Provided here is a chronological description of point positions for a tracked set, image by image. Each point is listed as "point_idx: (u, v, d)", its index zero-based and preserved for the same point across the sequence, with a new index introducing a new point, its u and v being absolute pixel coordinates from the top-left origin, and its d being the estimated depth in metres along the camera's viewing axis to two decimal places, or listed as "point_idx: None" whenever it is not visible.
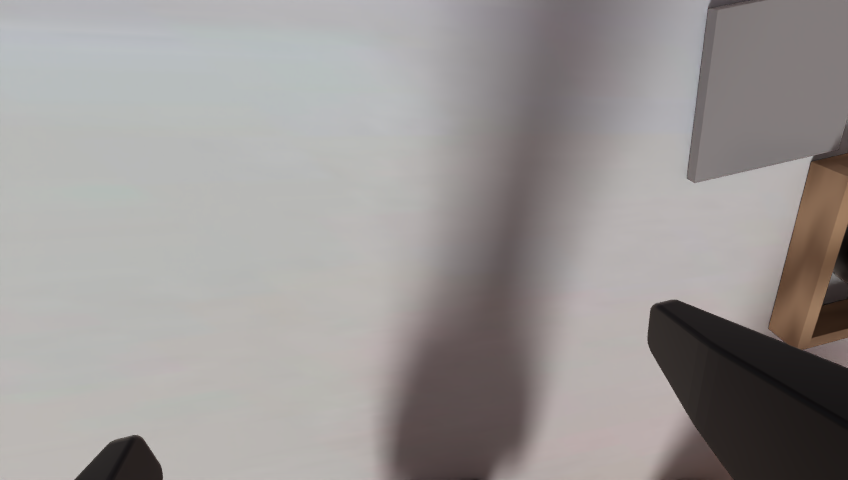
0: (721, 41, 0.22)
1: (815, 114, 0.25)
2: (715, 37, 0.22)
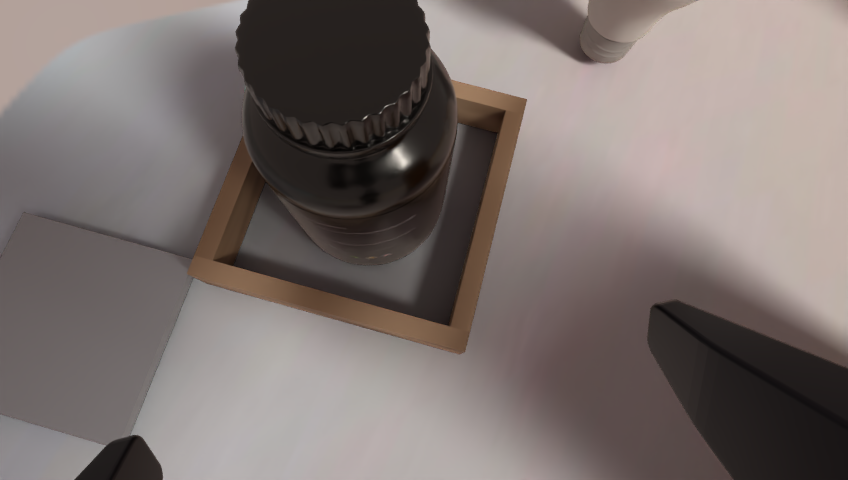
0: None
1: (127, 288, 0.22)
2: None
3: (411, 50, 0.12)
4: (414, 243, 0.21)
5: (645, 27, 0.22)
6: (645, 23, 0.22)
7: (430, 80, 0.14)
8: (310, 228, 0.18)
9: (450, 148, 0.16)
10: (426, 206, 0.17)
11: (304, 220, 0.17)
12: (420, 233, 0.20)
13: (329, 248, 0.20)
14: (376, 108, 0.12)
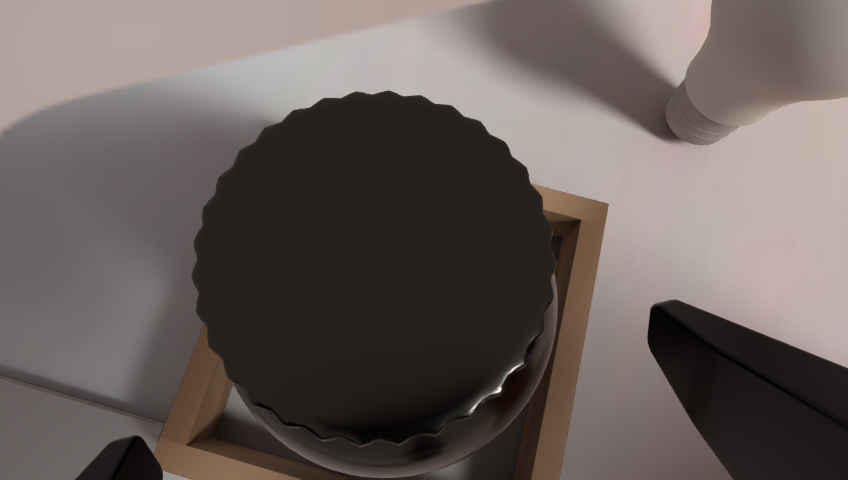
0: None
1: (70, 470, 0.16)
2: None
3: (525, 279, 0.06)
4: None
5: (772, 111, 0.16)
6: (775, 108, 0.16)
7: None
8: None
9: (548, 357, 0.10)
10: None
11: None
12: None
13: None
14: (464, 404, 0.06)
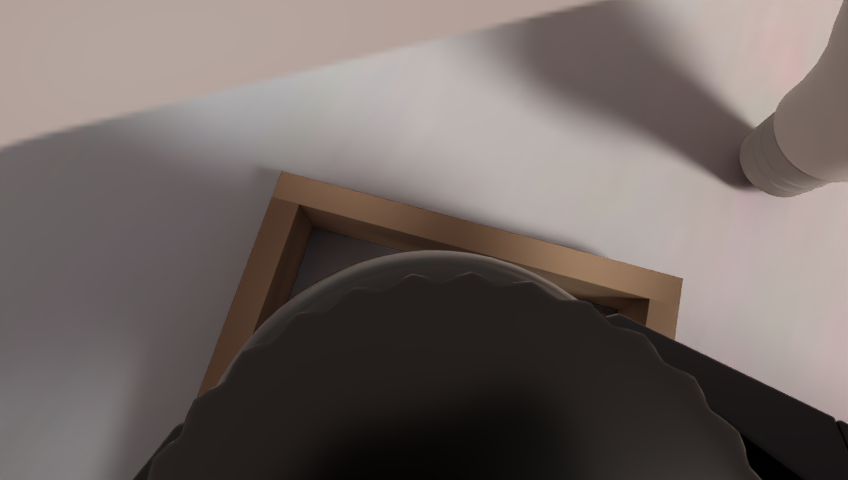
0: None
1: None
2: None
3: None
4: None
5: None
6: None
7: None
8: None
9: None
10: None
11: None
12: None
13: None
14: None
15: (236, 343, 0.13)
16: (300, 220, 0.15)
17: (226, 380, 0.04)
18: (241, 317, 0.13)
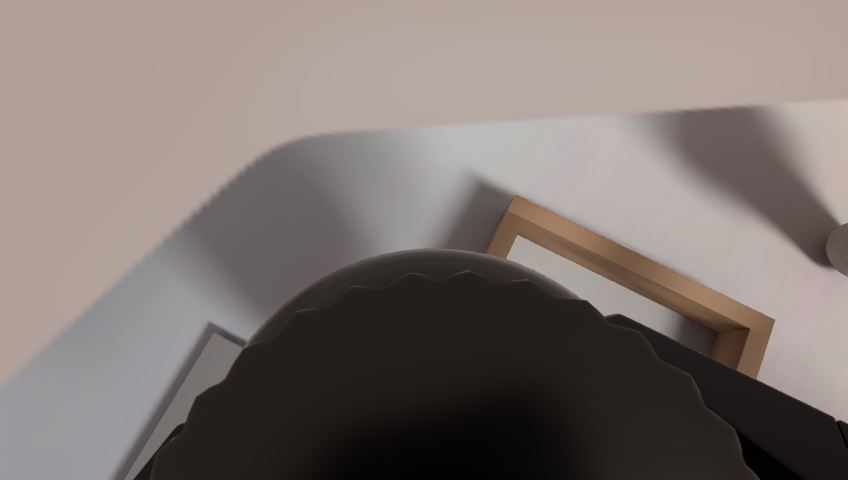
0: None
1: None
2: None
3: None
4: None
5: None
6: None
7: None
8: None
9: None
10: None
11: None
12: None
13: None
14: None
15: None
16: None
17: (227, 377, 0.04)
18: None
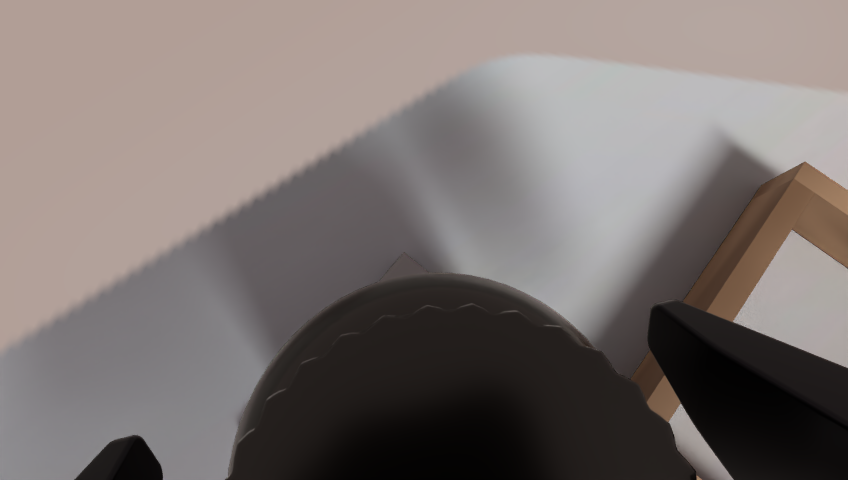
0: None
1: None
2: None
3: None
4: None
5: None
6: None
7: None
8: None
9: None
10: None
11: None
12: None
13: None
14: None
15: (745, 279, 0.16)
16: None
17: (291, 386, 0.05)
18: (753, 261, 0.16)
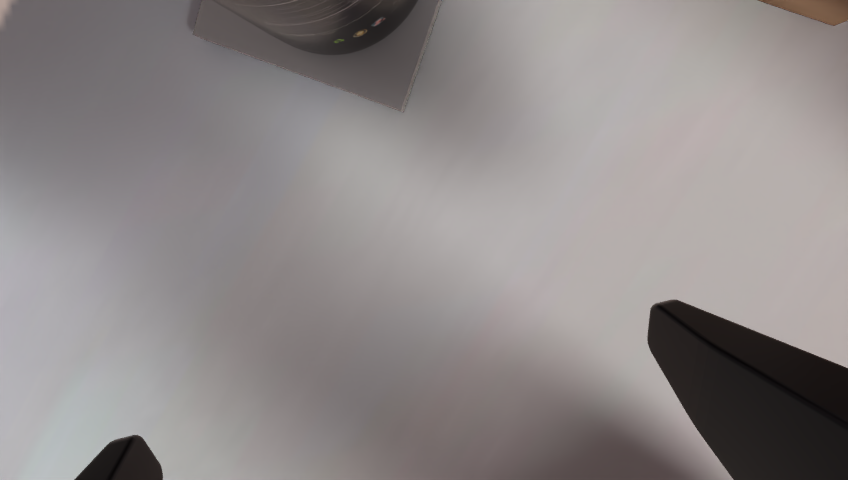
0: (229, 35, 0.18)
1: None
2: (223, 42, 0.18)
3: None
4: None
5: None
6: None
7: None
8: (255, 16, 0.13)
9: None
10: None
11: (236, 4, 0.12)
12: None
13: (302, 41, 0.15)
14: None
15: None
16: None
17: None
18: None
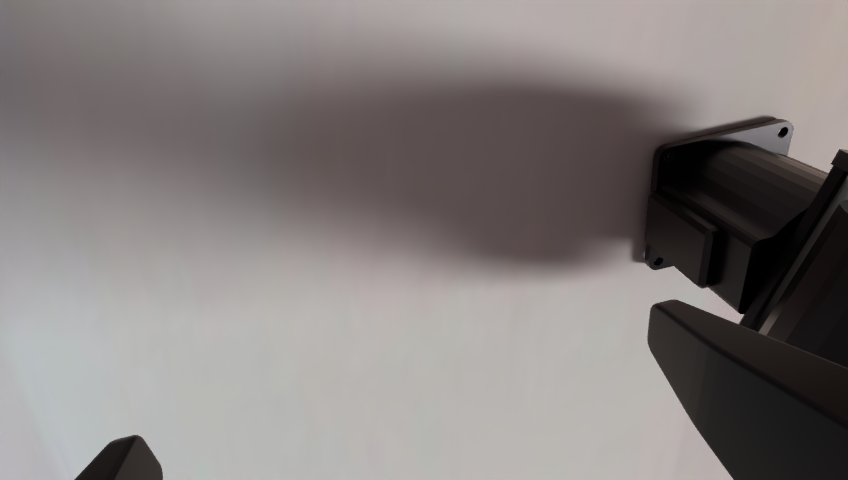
0: None
1: None
2: None
3: None
4: None
5: None
6: None
7: None
8: None
9: None
10: None
11: None
12: None
13: None
14: None
15: None
16: None
17: None
18: None
